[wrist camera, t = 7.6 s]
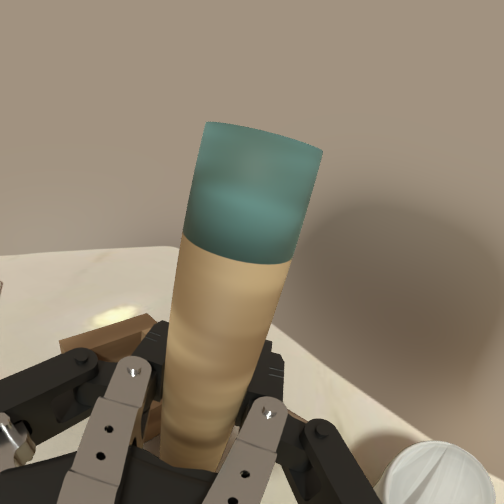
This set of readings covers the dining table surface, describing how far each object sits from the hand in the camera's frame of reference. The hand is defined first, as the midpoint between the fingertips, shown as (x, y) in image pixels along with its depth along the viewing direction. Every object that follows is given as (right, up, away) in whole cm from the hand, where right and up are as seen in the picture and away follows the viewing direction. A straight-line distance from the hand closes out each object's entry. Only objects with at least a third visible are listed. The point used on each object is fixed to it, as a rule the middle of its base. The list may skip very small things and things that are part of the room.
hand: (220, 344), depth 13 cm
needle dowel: (-3, -11, +1) cm, 11 cm away
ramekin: (+13, -17, -1) cm, 21 cm away
